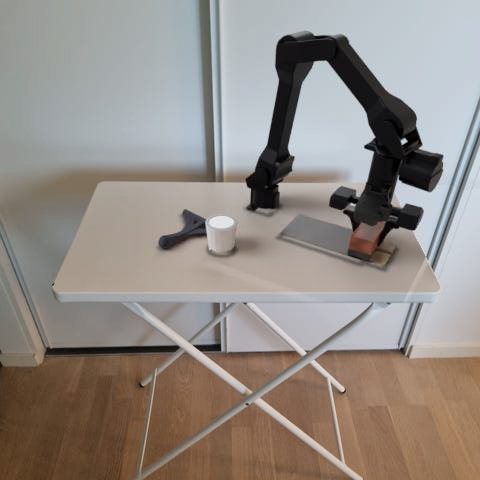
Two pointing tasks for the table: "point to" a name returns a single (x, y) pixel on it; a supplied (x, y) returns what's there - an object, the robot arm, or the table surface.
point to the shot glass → (221, 232)
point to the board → (320, 234)
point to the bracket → (185, 229)
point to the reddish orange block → (365, 240)
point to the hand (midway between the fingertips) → (367, 241)
